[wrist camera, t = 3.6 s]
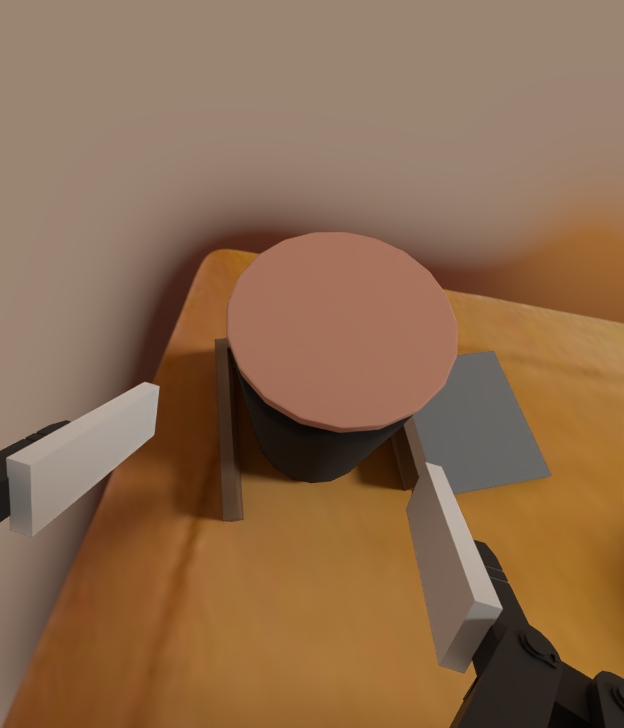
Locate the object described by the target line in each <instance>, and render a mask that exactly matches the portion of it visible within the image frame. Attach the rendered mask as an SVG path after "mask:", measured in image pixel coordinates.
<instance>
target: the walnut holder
mask: <svg viewBox="0 0 624 728" xmlns="http://www.w3.org/2000/svg"><path fill="white" fill-rule="evenodd" d="M215 353H216V375H217V397H218V420H219V442H220V465H221V487H222V509H223V521H229V522H233V521H239V520H244V518H243V504H242V490H241V475H240V461H239V446H238V432H237V418H236V403H235V389H234V374H233V367H235V365H234V355H233V353H232V350H231V348H230V345H229V342H228V340H227V338H224V339H215ZM390 439H391V442H392V446H393V450H394V453H395V457H396V461H397V464H398V468H399V472H400V475H401V479H402V483H403V486H404V490H405V491H406V490H411V489H415V486H416V484H417V481H418V479H419V477H420V474H421V472H422V469H423V467H424V464H425V462H427V460H426V457H425V454H424V451H423V447H422V444H421V441H420V438H419V435H418V431H417V428H416V425H415V422H414V418H413V416H412V417H411V418H410V419H409V420H408V421H407V422H406V423H405V424H404V425H403V426H402V427H401V428H400V429H398V430H397V431H396V432H395V433H394V434H393V435H392V436H390Z"/></svg>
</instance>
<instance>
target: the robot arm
mask: <svg viewBox="0 0 624 728" xmlns="http://www.w3.org/2000/svg"><path fill="white" fill-rule="evenodd" d="M159 387H160V386H157V385H154V384H150V383H147V382H144V383H142V384H140V385H138V386H136V387H135V388H133V389H131V390H129V391H127V392H125V393H124V394H122V395H120V396H118V397H116V398H114V399H113V400H111V401H109V402H107V403H105V404H104V405H102V406H100V407H98V408H97V409H94V410H93V411H91V412H89V413H87V414H85V415H83V416H82V417H80V418H79V419H76V420H74V421H73V422H70V421H63V422H59V423H56V424H52V425H49V426H47V427H45V428H43V429H41V430H39V431H38V432H37V433H36V434H35V433H34V434H32V435H30V436H28V437H26V439H22V440H20V441H18V442H16V443H14V444H12V445H11V446H9V447H7V448H5V449H3V450H1V451H0V522H1V521H3V520H4V519H5V518H7V517H8V516H10V530H11V531H14V532H18V533H21V534H24V535H27V536H30V537H33V536H34V535H36V534H37V533H38V532H39V531H40V530H42V529H43V528H44V527H45V526H46V525H48V524H49V523H50V522H51V521H52V520H54V519H55V518H56V517H57V516H58V515H60V514H61V513H62V512H63V511H64V510H65V509H66V508H68V507H69V506H70V505H71V504H73V503H74V502H75V501H76V500H77V499H79V498H80V497H81V496H82V495H83V494H84V493H86V492H87V491H88V490H89V489H90V488H92V487H93V486H94V485H95V484H96V483H97V482H99V481H100V480H101V479H102V478H104V476H106V475H107V474H108V473H110V472H111V471H112V470H113V469H114V468H115V467H117V466H118V465H119V464H120V463H121V462H123V461H124V460H125V459H126V458H127V457H129V456H130V455H131V454H132V453H133V452H135V451H136V450H137V449H138V448H139V447H141V446H142V445H143V444H144V443H145V442H146V441H148V440H149V439H150V438H151V437H152V436H154V433H155V424H156V415H157V406H158V396H159ZM406 511H407V516H408V520H409V525H410V530H411V535H412V540H413V544H414V549H415V554H416V559H417V564H418V568H419V573H420V578H421V583H422V587H423V592H424V597H425V602H426V607H427V611H428V616H429V621H430V626H431V631H432V635H433V640H434V645H435V650H436V654H437V659H438V664H439V666H442V667H445V668H448V669H452V670H455V671H458V672H461V673H465V671H466V670H467V668H468V666H469V665H470V663H471V661H473V664H474V668H475V671H476V675H477V677H476V679H475V681H474V682H473V684H472V685H471V687H470V689H469V690H468V692H467V693H466V695H465V697H464V698H463V700H464V701H463V703H462V705H461V707H460V709H459V711H458V712H457V714H456V716H455V718H454V720H453V722H452V724H451V726H450V728H624V679H623V678H621V677H619V676H617V675H615V674H613V673H611V672H606V671H601V672H600V673H598V674H597V675H596V676H595V678H594V679H593V680H592V679H591V678H589V677H587V676H586V675H584V674H582V673H581V672H579V671H577V670H576V669H574V668H572V667H571V666H569V665H567V664H566V663H564V662H563V661H561V659H560V657H559V654H558V652H557V651H556V649H555V648H554V647H553V645H552V644H551V643H550V641H549V640H548V639H547V638H546V637H545V636H544V635H543V634H542V633H541V632H539V631H538V630H536V629H535V628H533V627H532V626H530V625H529V623H528V621H527V619H526V617H525V615H524V613H523V611H522V609H521V607H520V605H519V603H518V601H517V599H516V597H515V595H514V592H513V590H512V588H511V586H510V584H508V580H507V578H506V576H505V574H504V572H502V568H501V566H500V564H499V562H498V559H497V557H496V556H495V555H494V553H493V552H492V551H491V550H490V549H489V547H488V546H487V545H486V544H485V543H483V542H480V541H476V540H473V538H472V536H471V534H470V531H469V529H468V527H467V524H466V522H465V520H464V518H463V515H462V513H461V511H460V508H459V506H458V504H457V501H456V499H455V497H454V494H453V492H452V490H451V487H450V485H449V483H448V480H447V478H446V476H445V473H444V471H443V469H442V467H441V466H437V465H434V464H430V463H427V462H425V464H424V467H423V469H422V472H421V474H420V477H419V479H418V481H417V484H416V486H415V489H414V491H413V493H412V496H411V498H410V501H409V503H408V505H407V508H406Z"/></svg>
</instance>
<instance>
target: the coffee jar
mask: <svg viewBox="0 0 624 728" xmlns="http://www.w3.org/2000/svg"><path fill="white" fill-rule="evenodd" d="M227 340H228V342H229V345H230V348H231V350H232V353H233V355H234V365H235V368H236V371H237V375H238V378H239V381H240V384H241V388H242V391H243V394H244V398H245V401H246V404H247V408H248V411H249V414H250V417H251V421H252V424H253V427H254V431H255V434H256V437H257V440H258V442H259V445H260V448H261V450H262V453H263V454H264V455H265V457H266V458H267V459H268V460H269V461H270V463H271V464H272V465H273V466H274V468H276V469H277V470H279V471H280V472H282V473H284V474H285V475H287V476H288V477H290V478H292V479H296V480H300V481H304V482H308V483H317V482H327V481H332V480H334V479H336V478H339V477H341V476H343V475H345V474H347V473H349V472H350V471H351V470H352V469H353V468H355V467H356V466H357V465H358V464H359V463H360V462H362V461H363V460H364V459H365V458H366V457H367V456H368V455H370V454H371V453H372V452H373V451H374V450H375V449H377V448H378V447H379V446H380V445H381V444H382V443H383V442H385V441H386V440H387V439H388V438H389V437H390V436H392V435H393V434H394V433H395V432H396V431H397V430H398V429H400V428H401V427H402V426H403V425H404V424H405V423H406V422H407V421H408V420H409V419H410V418H411V417H412V416H413V415H414V414H415V413H417V412H418V411H420V410H421V409H422V408H423V407H424V406H425V405H426V404H427V403H428V402H429V401H430V400H431V399H432V398H433V397H434V396H435V395H436V394H437V393H438V392H439V391H440V390H441V389H442V388H443V387H444V386H445V383H446V381H447V379H448V376H449V374H450V371H451V369H452V367H453V364H454V362H455V360H456V357H457V322H456V319H455V316H454V313H453V311H452V308H451V305H450V302H449V299H448V296H447V295H446V293H445V292H444V291H443V289H442V288H441V287H440V285H439V284H438V283H437V282H436V280H435V279H434V277H433V276H432V275H431V273H430V272H429V271H428V270H427V269H425V268H424V267H423V266H421V265H420V264H419V263H418V262H417V261H415V260H414V259H413V258H412V257H410V256H409V255H408V254H406V253H405V252H404V251H401V250H399V249H397V248H395V247H393V246H391V245H388V244H386V243H384V242H382V241H380V240H378V239H375V238H370V237H366V236H361V235H356V234H352V233H347V232H321V233H320V232H317V233H316V232H315V233H310V234H306V235H302V236H299V237H295V238H291V239H287V240H284V241H283V242H281V243H279V244H277V245H275V246H273V247H272V248H270V249H268V250H267V251H265V252H263V253H261V254H259V255H258V256H257V257H256V258H255V259H254V261H253V262H252V263H251V264H250V265H249V266H248V267H247V268H246V269H245V270H244V271H243V272H242V274H241V275H240V276H239V277H238V280H237V282H236V285H235V287H234V289H233V292H232V294H231V297H230V299H229V301H228V304H227Z"/></svg>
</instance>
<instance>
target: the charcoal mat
mask: <svg viewBox="0 0 624 728" xmlns="http://www.w3.org/2000/svg"><path fill="white" fill-rule="evenodd" d="M413 418H414V422H415V425H416V428H417V431H418V435H419V438H420V441H421V444H422V447H423V451H424V454H425V457H426V460H427V463H430V464H434V465H437V466H441V467H442V469H443V471H444V473H445V476H446V478H447V480H448V483H449V485H450V487H451V490H452V492H453V494H458V493H464V492H469V491H474V490H480V489H485V488H491V487H496V486H501V485H507V484H512V483H518V482H523V481H528V480H534V479H539V478H545V477H550V476H551V473H550V471H549V469H548V467H547V465H546V463H545V460H544V458H543V456H542V454H541V452H540V450H539V448H538V445H537V443H536V441H535V439H534V437H533V435H532V432H531V430H530V428H529V426H528V424H527V422H526V420H525V417H524V415H523V413H522V411H521V409H520V407H519V404H518V402H517V400H516V398H515V396H514V394H513V391H512V389H511V387H510V385H509V383H508V381H507V379H506V376H505V374H504V372H503V370H502V368H501V366H500V363H499V361H498V359H497V357H496V355H495V353H494V351H488V352H480V353H472V354H464V355H457V357H456V360H455V362H454V364H453V367H452V369H451V371H450V374H449V376H448V379H447V381H446V383H445V386H444V387H443V388H442V389H441V390H440V391H439V392H438V393H437V394H436V395H435V396H434V397H433V398H432V399H431V400H430V401H429V402H428V403H427V404H426V405H425V406H424V407H423V408H422V409H421V410H420V411H418V412H417V413H415V414H414V415H413Z"/></svg>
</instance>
